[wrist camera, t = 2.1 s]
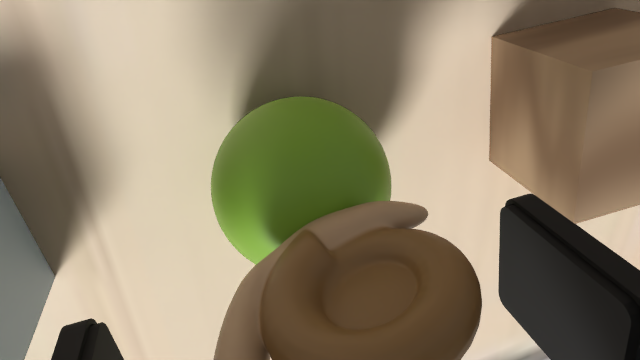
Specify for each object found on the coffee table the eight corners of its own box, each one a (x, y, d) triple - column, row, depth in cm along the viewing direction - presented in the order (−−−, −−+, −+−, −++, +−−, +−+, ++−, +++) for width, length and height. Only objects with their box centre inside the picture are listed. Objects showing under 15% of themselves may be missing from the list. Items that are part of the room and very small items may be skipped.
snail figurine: (149, 131, 16) (80, 525, 5) (329, 48, 16) (602, 272, 5) (225, 250, 18) (277, 664, 8) (376, 179, 19) (618, 492, 8)
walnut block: (490, 36, 17) (592, 71, 13) (613, 7, 18) (749, 32, 13) (488, 159, 20) (573, 224, 15) (596, 130, 20) (707, 184, 16)
